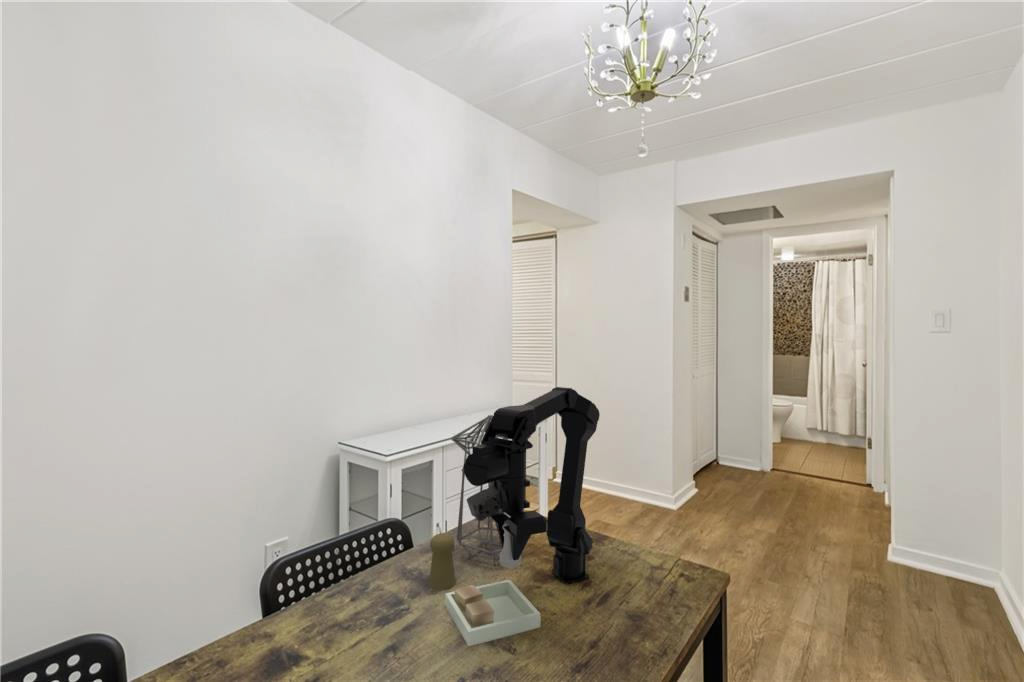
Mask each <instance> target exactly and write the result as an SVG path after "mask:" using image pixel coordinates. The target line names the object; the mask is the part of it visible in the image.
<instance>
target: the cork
mask: <svg viewBox="0 0 1024 682" xmlns="http://www.w3.org/2000/svg"><path fill="white" fill-rule="evenodd" d="M429 542H430V543H429V544H430V545H429V547H430V550H431V552H432V556H431V562H430V569H429V570H430V571H429V576H428V577H429V578H428V587H429V588H430V589H432V590H436V591H446V590H449V589H452V588H453V587H454V586H455V585H456V583H457V582H456V574H455V567H454V566H455V564H454V560H453V559H454V557H453V550H454V548H455V539H454V536H453V535H451V534H450V533H442V532H441V533H437V534H435V535H433V536H432V537H431V540H430V541H429Z"/></svg>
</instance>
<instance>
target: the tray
mask: <svg viewBox="0 0 1024 682" xmlns="http://www.w3.org/2000/svg"><path fill="white" fill-rule="evenodd" d="M475 587H476V588H477V589H478V590H480V591H481V592H482V593H483V600H486V601H487V602H488V603H489V605H490V606H491V607H492V609H493V610H494V623H491V624H487V625H483V626H479V627H475V628H471V627H470V625H469V624H468V622H467V620H466V619H465V617H464V616H463V614H462V612H461V611H460V609H459V607H458V606H457V604H456V603H455V590H454V591H451V592H450V591H448V592H446V593H445V594H444V596H445V597H444V598H445V603H444V605H445V608H446V610H447V611H448V613H449V615H450V617H451V618H452V620H453V622H454V624H455V625H456V627H457V629H458V631H459V632H460V634H461V636H462V637H463V639H464V642H465V643H466V644H467V646H468V647H472V646H476V645H480V644H483V643H484V644H485V643H488V642H491V641H495V640H499V639H502V638H503V639H504V638H507V637H510V636H513V635H518V634H521V633H525V632H529V631H533V630H536V629H541V617H542V616H541V613H540V612H539V611H538V609H537V608H536V607H535V606H534V605H533V604H532V603H531V601H529V599H528V598H527V597H526V595H524V594H523V592H522V591H521V590H520V589H518V587H517V586H516V585H515V584H514V583H513V581H512V580H511V579H506V580H501V581H497V582H491V583H488V584H483V585H477V586H475Z"/></svg>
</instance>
